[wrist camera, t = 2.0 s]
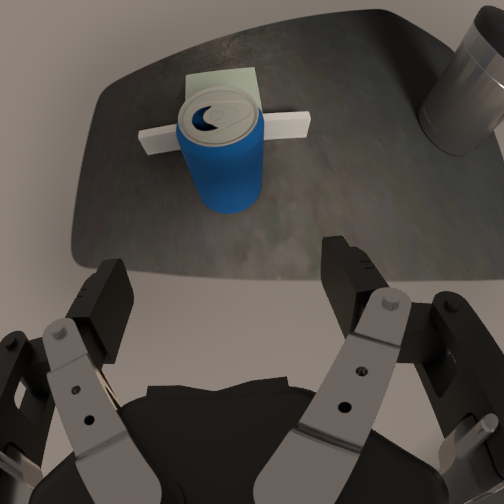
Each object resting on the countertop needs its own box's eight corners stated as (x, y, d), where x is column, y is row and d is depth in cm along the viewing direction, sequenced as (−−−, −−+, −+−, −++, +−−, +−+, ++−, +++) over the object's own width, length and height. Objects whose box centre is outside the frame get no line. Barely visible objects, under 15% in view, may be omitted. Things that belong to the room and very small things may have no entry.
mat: (254, 70, 35) (254, 67, 35) (263, 119, 33) (263, 116, 33) (186, 78, 35) (186, 75, 35) (185, 128, 33) (184, 125, 33)
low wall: (304, 130, 33) (308, 111, 29) (306, 137, 33) (310, 118, 29) (148, 148, 33) (138, 131, 29) (147, 155, 32) (138, 138, 29)
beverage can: (193, 170, 32) (166, 95, 20) (251, 154, 32) (250, 74, 20) (206, 224, 30) (180, 162, 19) (269, 206, 31) (277, 137, 19)
